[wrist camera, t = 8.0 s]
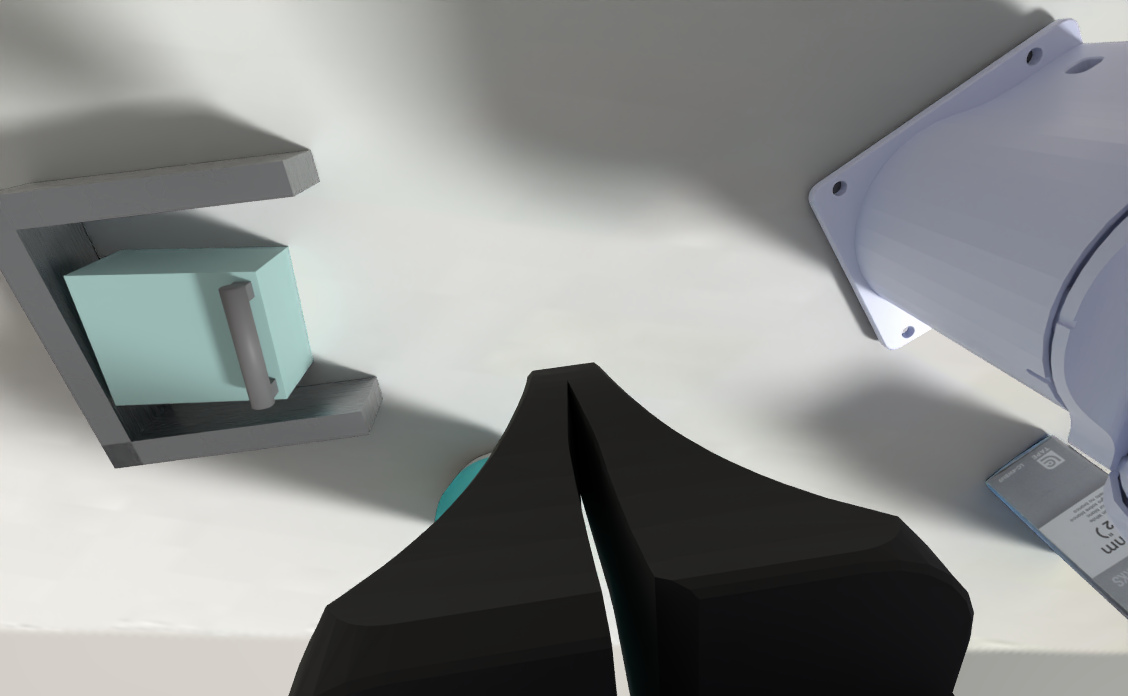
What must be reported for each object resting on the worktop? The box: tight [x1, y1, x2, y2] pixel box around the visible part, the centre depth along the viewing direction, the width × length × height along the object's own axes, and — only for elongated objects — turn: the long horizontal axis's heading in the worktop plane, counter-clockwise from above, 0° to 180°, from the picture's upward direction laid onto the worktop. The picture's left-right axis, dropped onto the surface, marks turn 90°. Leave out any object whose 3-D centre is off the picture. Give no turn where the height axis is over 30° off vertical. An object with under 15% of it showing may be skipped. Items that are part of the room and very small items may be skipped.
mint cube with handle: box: [64, 246, 313, 410], centre depth 19 cm, size 6×4×4 cm
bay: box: [0, 150, 383, 468], centre depth 19 cm, size 9×10×2 cm
